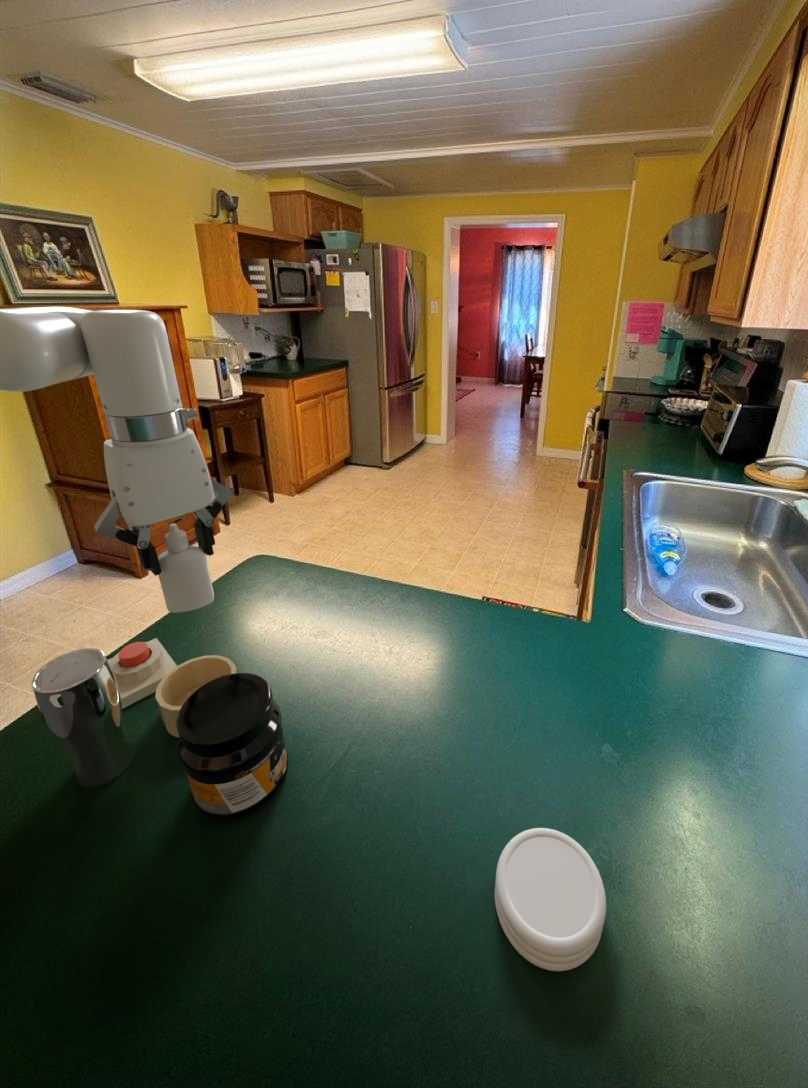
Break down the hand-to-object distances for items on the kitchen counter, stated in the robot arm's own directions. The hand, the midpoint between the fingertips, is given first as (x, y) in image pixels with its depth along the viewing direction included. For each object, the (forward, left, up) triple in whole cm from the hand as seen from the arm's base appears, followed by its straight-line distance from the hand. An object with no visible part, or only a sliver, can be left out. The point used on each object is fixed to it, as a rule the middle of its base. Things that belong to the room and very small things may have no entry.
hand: (181, 559), depth 61 cm
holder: (+4, -2, -21) cm, 22 cm away
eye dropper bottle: (0, 0, -7) cm, 7 cm away
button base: (-9, -6, -21) cm, 24 cm away
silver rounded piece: (+3, -14, -21) cm, 26 cm away
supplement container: (+18, -3, -21) cm, 28 cm away
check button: (-9, -6, -18) cm, 21 cm away
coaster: (+51, +11, -21) cm, 56 cm away
